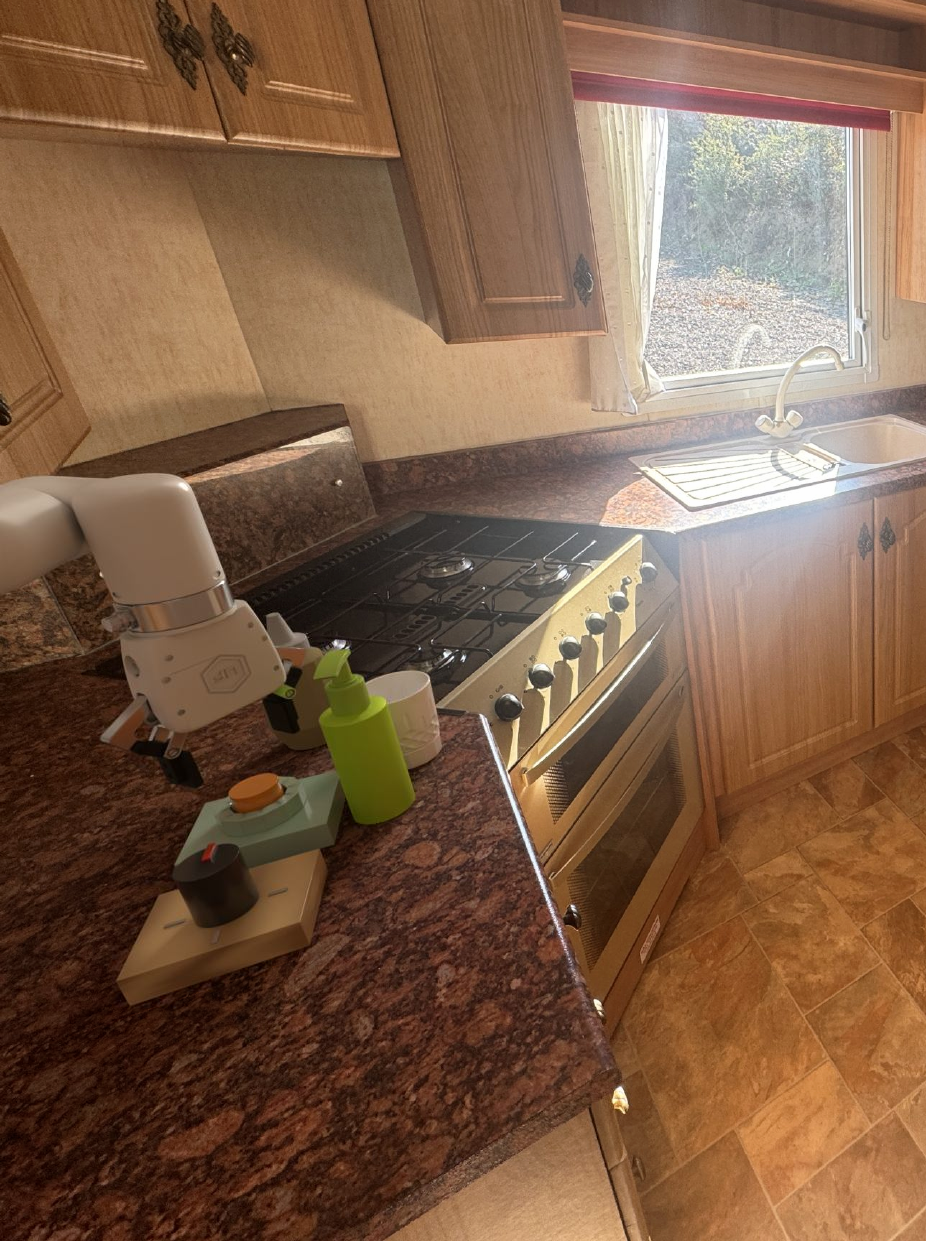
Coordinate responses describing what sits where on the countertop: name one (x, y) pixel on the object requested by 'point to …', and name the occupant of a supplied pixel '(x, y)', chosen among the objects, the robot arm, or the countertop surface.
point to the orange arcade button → (256, 793)
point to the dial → (216, 885)
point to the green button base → (274, 822)
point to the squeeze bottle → (301, 688)
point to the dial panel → (225, 931)
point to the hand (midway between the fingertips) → (240, 755)
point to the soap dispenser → (363, 744)
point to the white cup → (411, 713)
